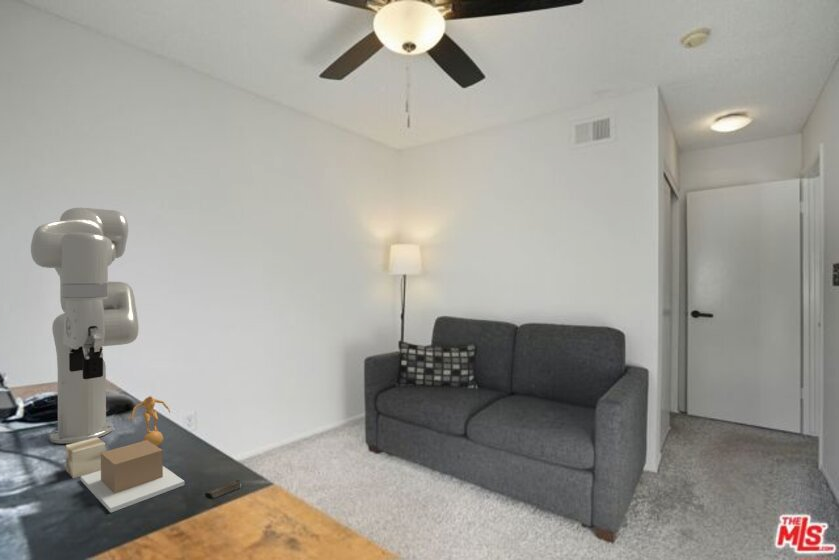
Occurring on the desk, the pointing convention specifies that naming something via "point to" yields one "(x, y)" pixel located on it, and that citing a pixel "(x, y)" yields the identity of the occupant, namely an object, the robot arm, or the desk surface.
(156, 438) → the figurine
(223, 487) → the block
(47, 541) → the desk surface
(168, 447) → the desk surface
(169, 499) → the desk surface
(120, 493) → the build board
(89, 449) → the maple block
